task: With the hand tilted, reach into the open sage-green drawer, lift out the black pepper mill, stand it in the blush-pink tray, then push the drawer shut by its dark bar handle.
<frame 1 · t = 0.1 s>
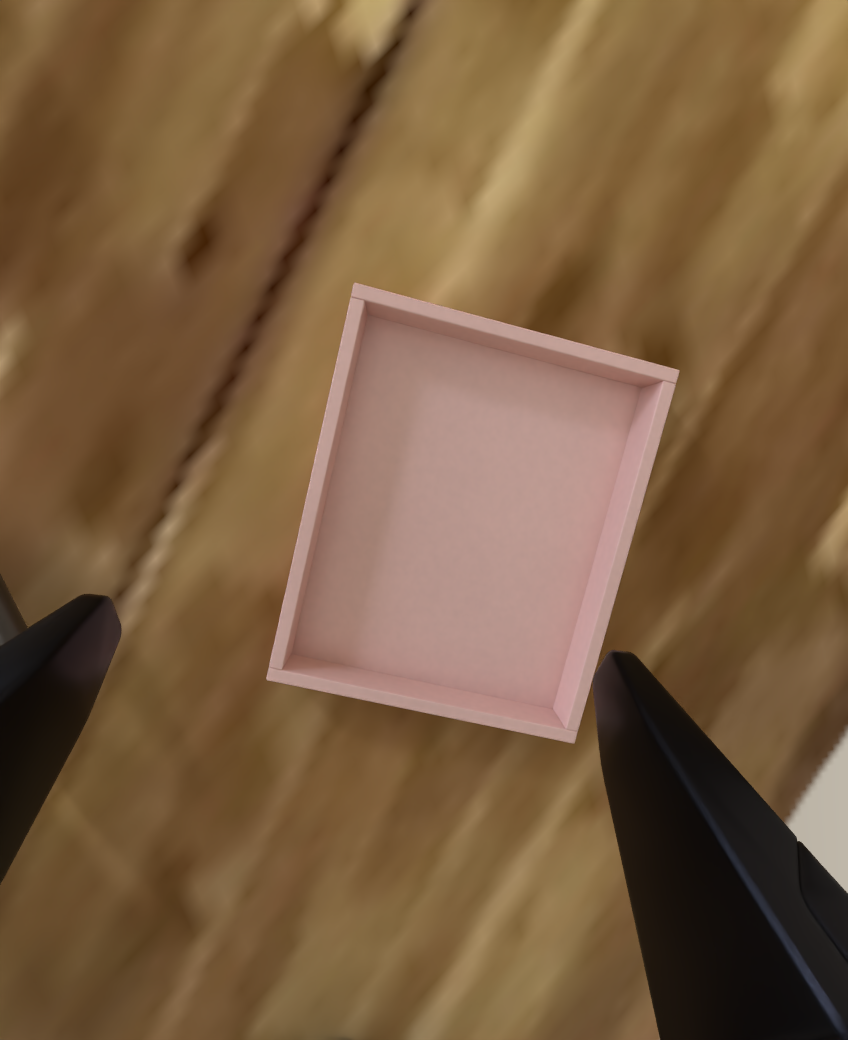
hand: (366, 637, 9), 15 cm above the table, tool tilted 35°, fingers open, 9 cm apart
tray: (463, 520, 24), on the table
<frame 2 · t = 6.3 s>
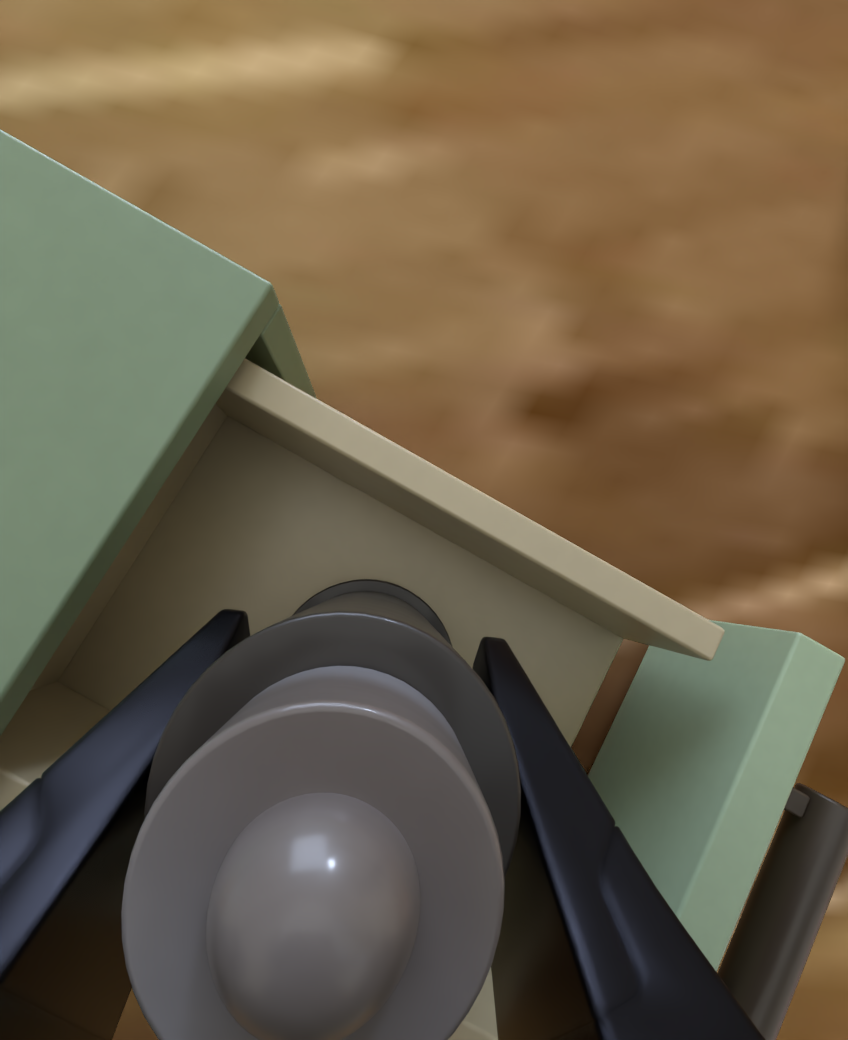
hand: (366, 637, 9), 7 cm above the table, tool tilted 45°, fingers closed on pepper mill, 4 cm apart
drawer: (452, 726, 13), point 4 cm above the table, slide at 13.0 cm, touching pepper mill
pepper mill: (365, 665, 14), point 2 cm above the table, touching drawer, gripper
when the fingers open (6 cm above the table, at t = 14.7 s): pepper mill stays where it is, resting on tray.
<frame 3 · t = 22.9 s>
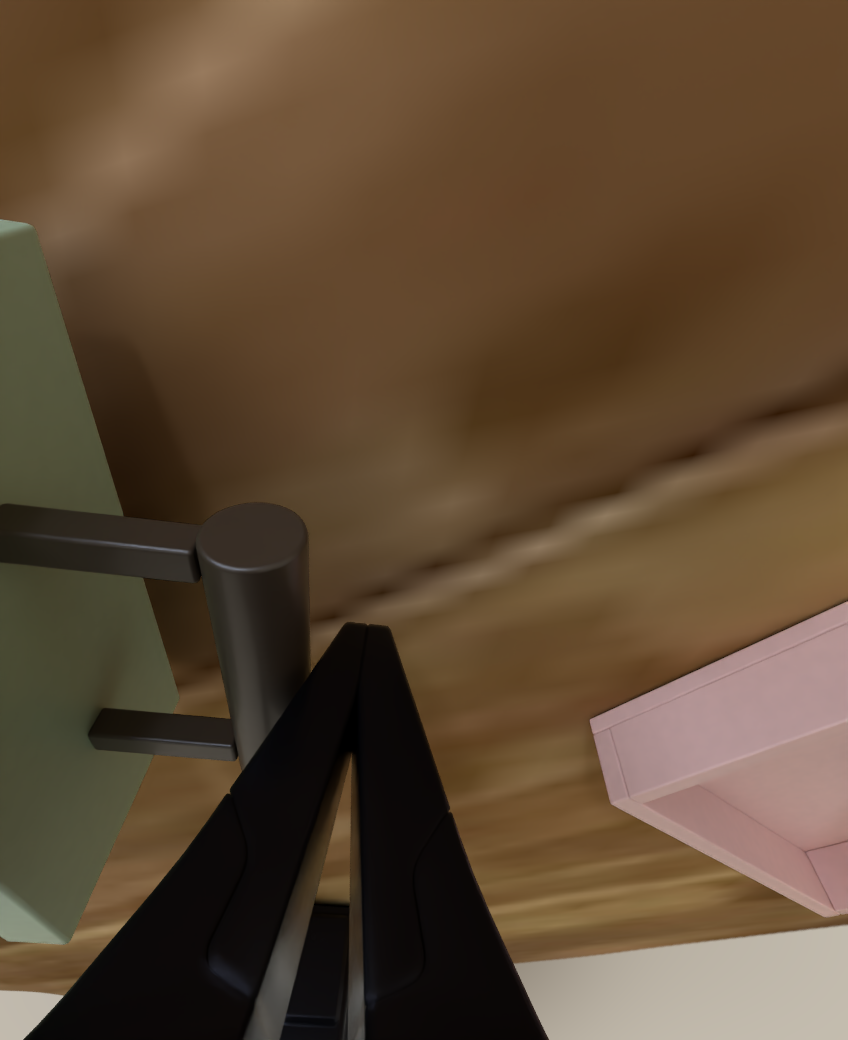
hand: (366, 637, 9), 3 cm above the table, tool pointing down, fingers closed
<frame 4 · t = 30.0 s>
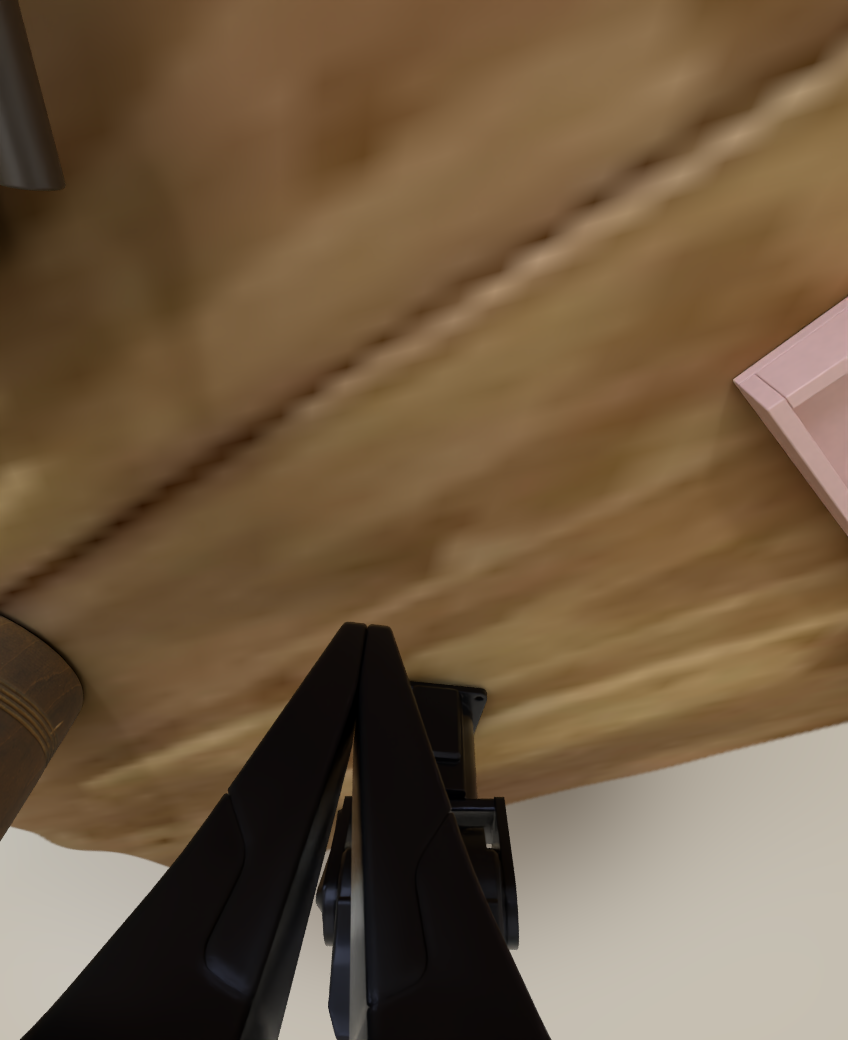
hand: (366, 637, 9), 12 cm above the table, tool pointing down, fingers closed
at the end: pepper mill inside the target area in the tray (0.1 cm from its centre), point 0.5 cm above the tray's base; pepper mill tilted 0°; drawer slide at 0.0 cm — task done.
